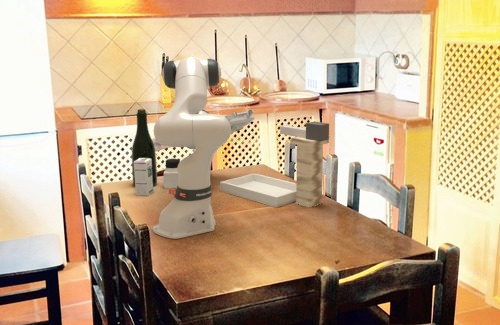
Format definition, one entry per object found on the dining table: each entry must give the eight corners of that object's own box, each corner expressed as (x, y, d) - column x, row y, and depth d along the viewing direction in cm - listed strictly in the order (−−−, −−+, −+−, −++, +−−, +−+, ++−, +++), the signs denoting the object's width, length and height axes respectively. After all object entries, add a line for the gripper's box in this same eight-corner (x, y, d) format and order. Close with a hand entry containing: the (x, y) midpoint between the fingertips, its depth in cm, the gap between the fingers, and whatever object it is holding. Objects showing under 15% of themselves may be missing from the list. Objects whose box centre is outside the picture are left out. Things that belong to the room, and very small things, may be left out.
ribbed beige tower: (310, 209, 228) (311, 141, 222) (290, 204, 235) (291, 138, 229) (327, 203, 235) (328, 137, 229) (307, 198, 242) (308, 134, 236)
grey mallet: (320, 141, 222) (320, 125, 221) (278, 134, 237) (278, 118, 236) (328, 139, 226) (329, 123, 224) (286, 132, 240) (287, 117, 239)
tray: (276, 207, 231) (276, 197, 230) (220, 191, 253) (220, 181, 252) (310, 196, 245) (310, 186, 244) (254, 181, 267) (254, 173, 266)
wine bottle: (158, 186, 260) (155, 110, 253) (134, 188, 258) (129, 111, 250) (155, 180, 270) (152, 107, 263) (132, 182, 268) (127, 108, 260)
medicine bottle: (180, 188, 258) (179, 161, 255) (164, 188, 258) (162, 161, 255) (183, 184, 265) (182, 157, 262) (166, 184, 265) (165, 157, 262)
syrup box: (148, 195, 248) (147, 161, 244) (135, 195, 249) (133, 160, 245) (153, 192, 253) (152, 158, 250) (140, 191, 254) (138, 157, 251)
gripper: (204, 121, 256) (222, 108, 246) (239, 116, 270) (258, 103, 260) (209, 135, 255) (228, 122, 245) (244, 129, 269) (263, 116, 259)
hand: (244, 112), depth 252 cm, fingers open, 8 cm apart
